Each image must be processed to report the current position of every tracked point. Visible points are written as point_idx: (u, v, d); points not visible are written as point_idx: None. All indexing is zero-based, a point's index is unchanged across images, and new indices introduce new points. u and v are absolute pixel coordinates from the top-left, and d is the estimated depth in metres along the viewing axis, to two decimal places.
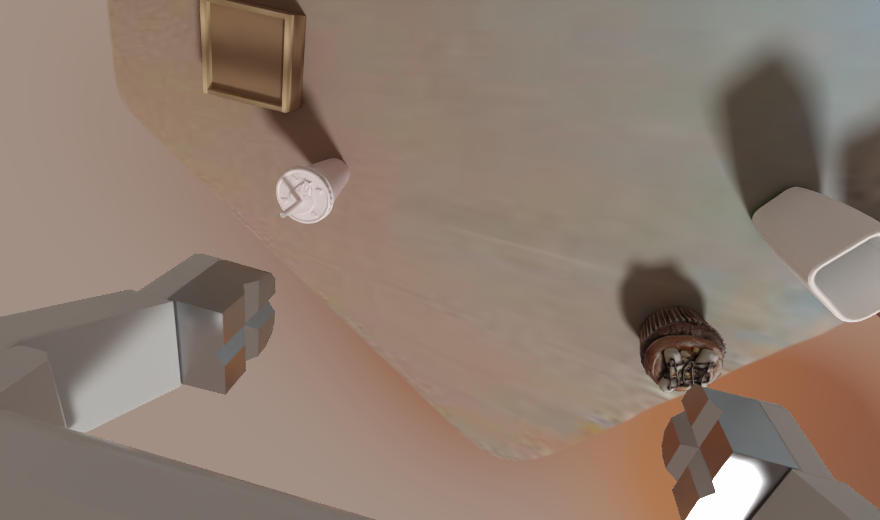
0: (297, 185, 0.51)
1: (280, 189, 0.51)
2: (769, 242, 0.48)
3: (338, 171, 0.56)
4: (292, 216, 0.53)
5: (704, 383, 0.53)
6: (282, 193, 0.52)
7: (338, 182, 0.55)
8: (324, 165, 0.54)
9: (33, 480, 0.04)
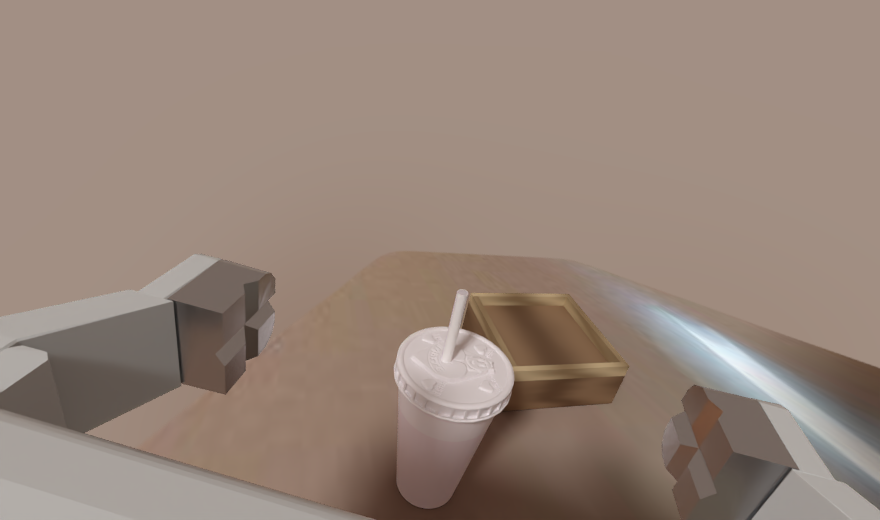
0: None
1: (446, 332, 0.27)
2: None
3: (469, 462, 0.27)
4: (403, 350, 0.25)
5: None
6: (441, 334, 0.27)
7: (466, 455, 0.25)
8: None
9: (31, 480, 0.04)
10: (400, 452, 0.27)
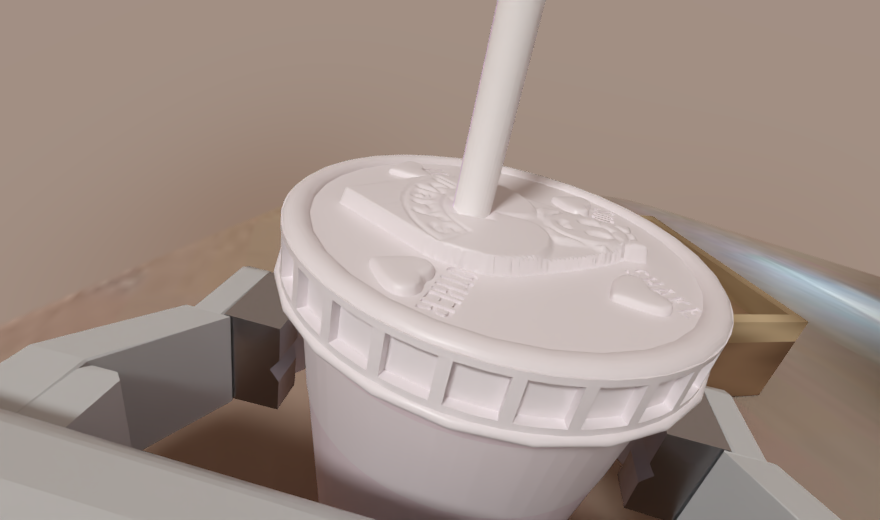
0: None
1: None
2: None
3: None
4: (318, 181, 0.07)
5: None
6: (448, 170, 0.09)
7: None
8: None
9: (33, 480, 0.04)
10: None
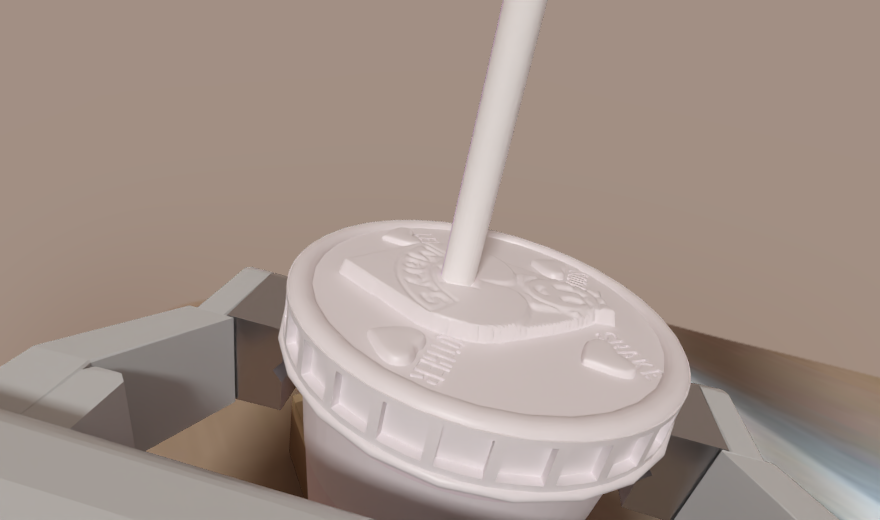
0: None
1: None
2: None
3: None
4: (319, 251, 0.08)
5: None
6: (436, 235, 0.10)
7: None
8: None
9: (33, 480, 0.04)
10: None
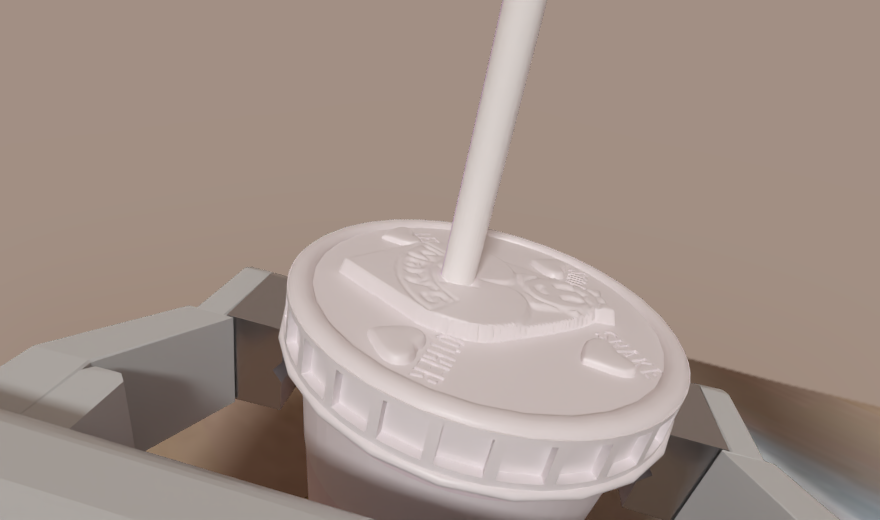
0: None
1: None
2: None
3: None
4: (319, 251, 0.08)
5: None
6: (436, 234, 0.10)
7: None
8: None
9: (33, 480, 0.04)
10: None
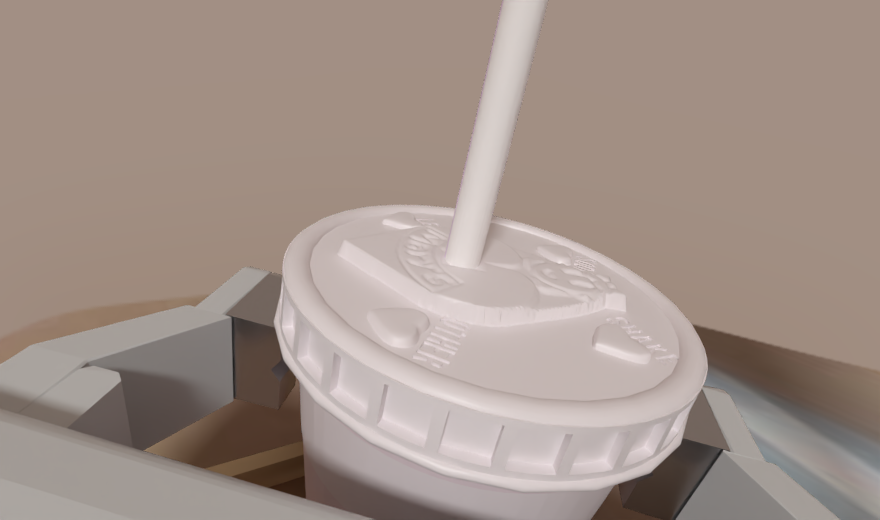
0: None
1: None
2: None
3: None
4: (317, 233, 0.07)
5: None
6: (438, 220, 0.09)
7: None
8: None
9: (33, 480, 0.04)
10: None
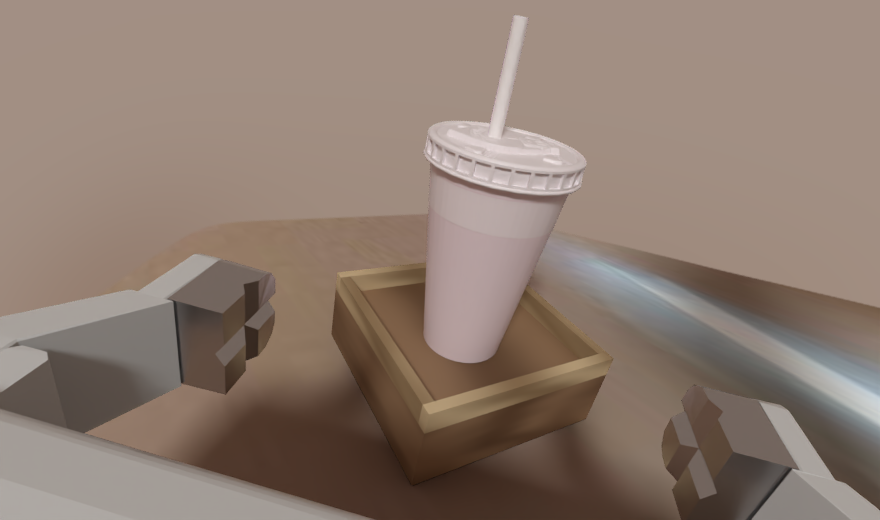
0: None
1: (487, 126, 0.21)
2: None
3: (522, 293, 0.20)
4: (436, 128, 0.18)
5: None
6: (480, 127, 0.20)
7: (523, 270, 0.19)
8: None
9: (33, 479, 0.04)
10: (431, 281, 0.20)
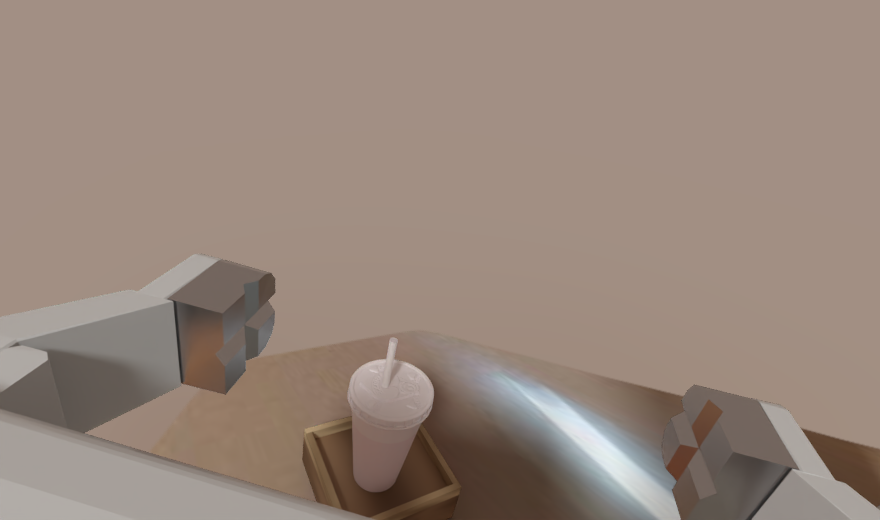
0: (405, 380, 0.36)
1: None
2: None
3: (405, 457, 0.37)
4: (354, 379, 0.35)
5: None
6: (383, 365, 0.37)
7: (400, 452, 0.35)
8: None
9: (33, 479, 0.04)
10: (354, 451, 0.37)
